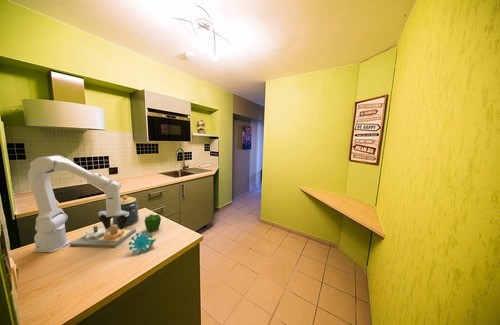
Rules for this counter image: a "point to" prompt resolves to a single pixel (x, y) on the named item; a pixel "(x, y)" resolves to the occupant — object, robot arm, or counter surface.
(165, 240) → the counter surface
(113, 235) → the wood gear
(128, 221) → the canister
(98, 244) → the gear board
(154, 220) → the bell pepper
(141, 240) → the teal virus toy
